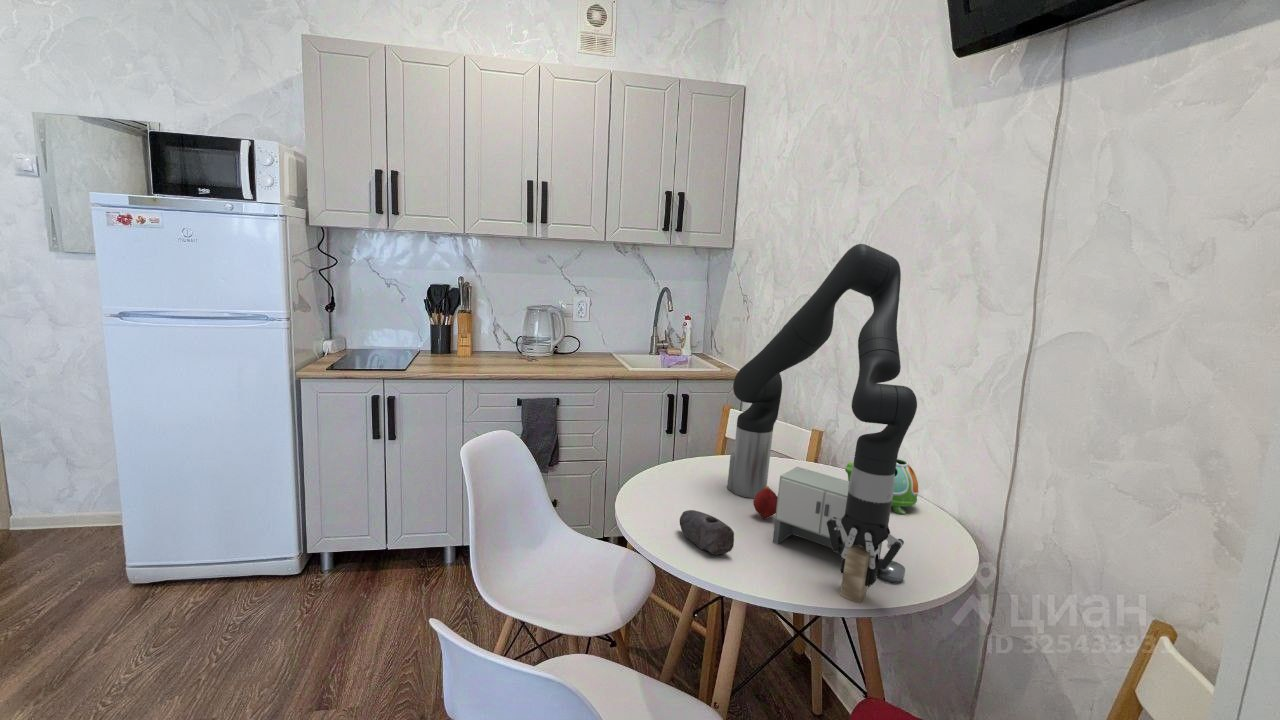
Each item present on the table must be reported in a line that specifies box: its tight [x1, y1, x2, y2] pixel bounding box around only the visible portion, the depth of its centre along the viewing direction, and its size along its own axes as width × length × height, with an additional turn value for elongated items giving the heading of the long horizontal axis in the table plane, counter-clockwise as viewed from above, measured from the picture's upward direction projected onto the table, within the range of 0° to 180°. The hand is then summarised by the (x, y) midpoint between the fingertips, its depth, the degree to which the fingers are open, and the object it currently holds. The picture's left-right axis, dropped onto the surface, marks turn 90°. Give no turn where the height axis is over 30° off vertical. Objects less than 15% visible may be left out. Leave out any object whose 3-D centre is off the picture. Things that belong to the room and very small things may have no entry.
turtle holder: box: [844, 457, 920, 515], centre depth 159 cm, size 12×18×12 cm
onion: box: [753, 485, 778, 520], centre depth 144 cm, size 6×6×8 cm
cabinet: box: [772, 466, 883, 557], centre depth 129 cm, size 20×9×15 cm, turn 52°
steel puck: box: [876, 560, 906, 585], centre depth 121 cm, size 5×5×2 cm
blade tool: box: [839, 545, 881, 604], centre depth 117 cm, size 4×15×9 cm, turn 142°
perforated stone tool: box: [679, 509, 735, 556], centre depth 129 cm, size 15×5×7 cm, turn 33°
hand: (857, 580), depth 114 cm, fingers closed on blade tool, 3 cm apart
